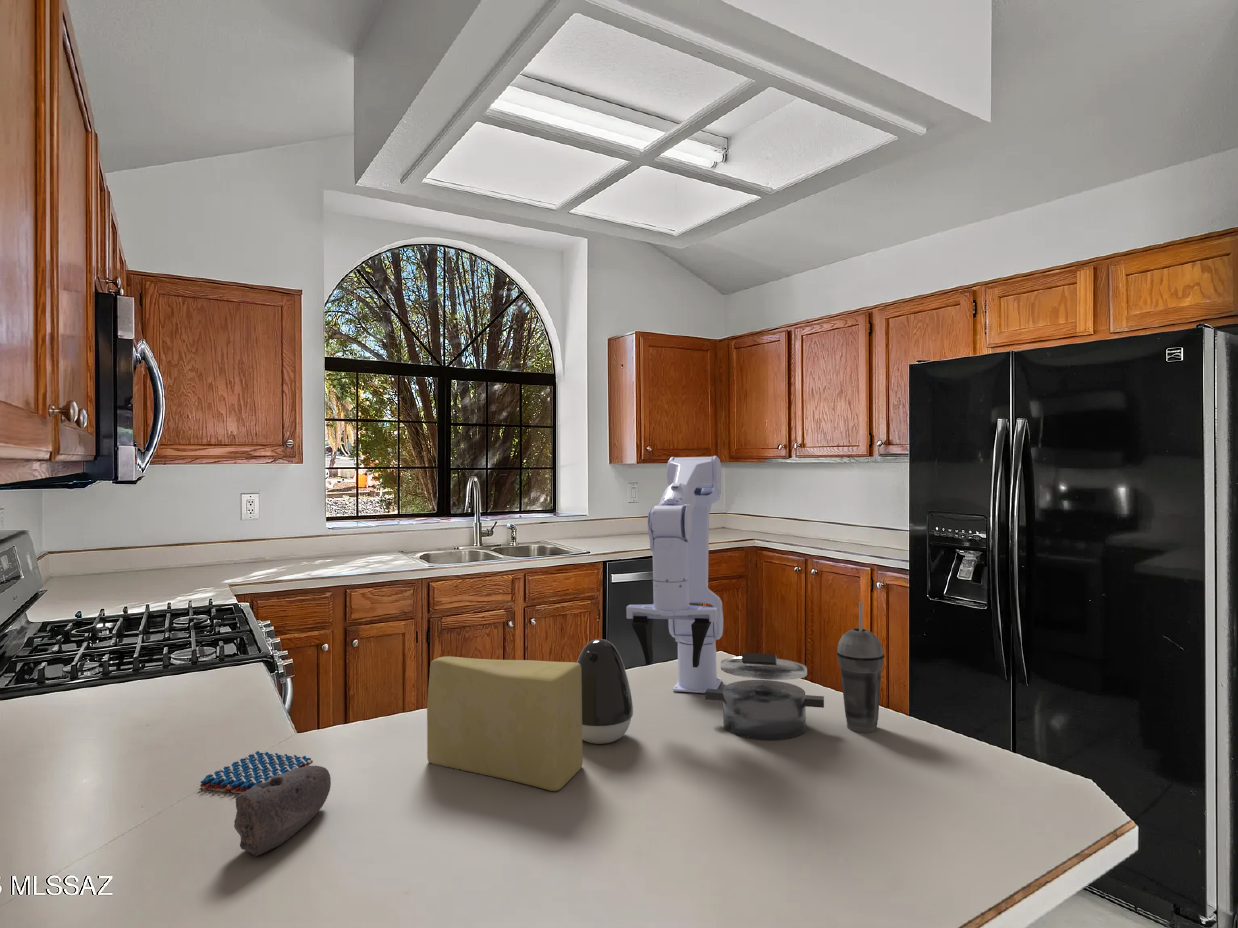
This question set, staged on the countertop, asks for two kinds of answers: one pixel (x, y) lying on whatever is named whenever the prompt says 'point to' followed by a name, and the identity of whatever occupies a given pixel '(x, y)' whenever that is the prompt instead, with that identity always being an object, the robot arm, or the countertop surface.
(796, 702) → the cooker pot
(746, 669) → the cooker lid
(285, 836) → the perforated stone tool
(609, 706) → the black white egg shape
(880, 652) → the beverage cup
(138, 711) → the countertop surface
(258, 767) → the woven mat
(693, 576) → the robot arm
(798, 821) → the countertop surface
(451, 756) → the cheese
